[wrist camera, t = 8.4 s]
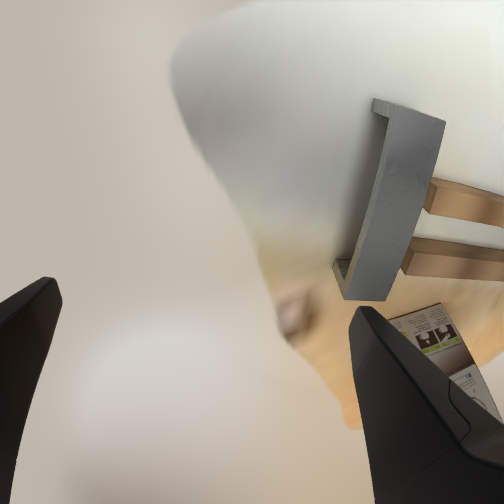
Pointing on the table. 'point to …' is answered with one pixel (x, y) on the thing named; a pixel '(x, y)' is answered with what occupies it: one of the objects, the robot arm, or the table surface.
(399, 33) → the table surface
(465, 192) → the bar
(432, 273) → the base
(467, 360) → the coffee box
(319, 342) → the table surface
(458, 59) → the table surface
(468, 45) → the table surface
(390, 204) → the grey bracket bar
